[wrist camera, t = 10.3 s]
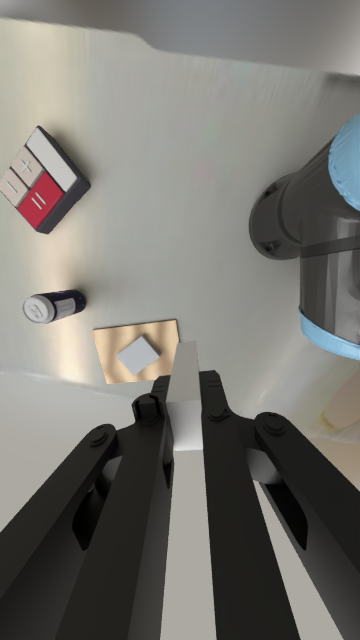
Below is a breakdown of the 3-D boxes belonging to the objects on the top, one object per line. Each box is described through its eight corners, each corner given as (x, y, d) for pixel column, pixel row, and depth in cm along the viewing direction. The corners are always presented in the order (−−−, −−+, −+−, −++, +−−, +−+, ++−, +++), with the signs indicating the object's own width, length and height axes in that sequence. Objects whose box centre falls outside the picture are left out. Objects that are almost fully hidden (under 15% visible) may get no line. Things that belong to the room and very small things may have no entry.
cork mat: (175, 319, 43) (175, 320, 42) (184, 375, 47) (184, 376, 46) (93, 329, 45) (91, 330, 44) (108, 382, 49) (107, 384, 48)
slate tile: (141, 336, 42) (115, 356, 43) (159, 357, 43) (133, 375, 45) (143, 333, 43) (118, 352, 45) (161, 353, 45) (135, 371, 46)
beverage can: (80, 285, 42) (38, 290, 30) (92, 306, 43) (55, 318, 31) (61, 294, 43) (13, 302, 31) (73, 315, 44) (32, 329, 32)
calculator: (-8, 185, 34) (34, 119, 30) (14, 194, 38) (53, 137, 34) (34, 232, 36) (78, 176, 32) (50, 235, 40) (92, 186, 36)
